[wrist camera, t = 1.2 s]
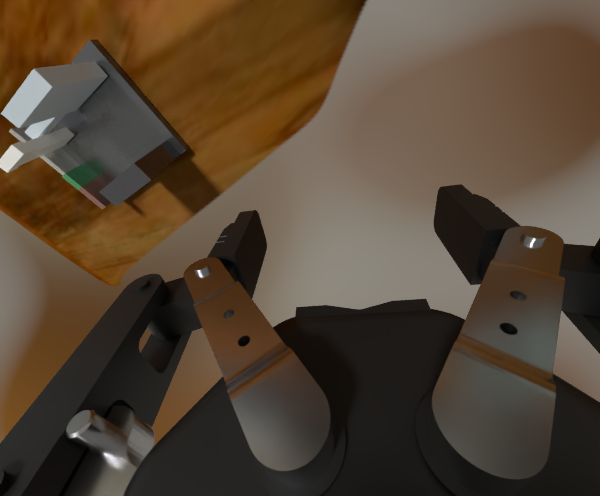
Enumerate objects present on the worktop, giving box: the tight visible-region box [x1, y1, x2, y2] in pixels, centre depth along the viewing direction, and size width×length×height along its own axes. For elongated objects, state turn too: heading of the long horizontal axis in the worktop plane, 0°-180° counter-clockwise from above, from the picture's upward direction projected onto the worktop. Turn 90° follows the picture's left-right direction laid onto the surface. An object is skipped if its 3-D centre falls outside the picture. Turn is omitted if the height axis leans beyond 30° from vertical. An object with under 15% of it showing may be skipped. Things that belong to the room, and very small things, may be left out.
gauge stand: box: [9, 40, 189, 209], centre depth 28 cm, size 12×14×8 cm
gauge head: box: [1, 61, 107, 139], centre depth 25 cm, size 1×10×7 cm, turn 122°
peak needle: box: [0, 127, 74, 173], centre depth 27 cm, size 1×4×7 cm, turn 122°
